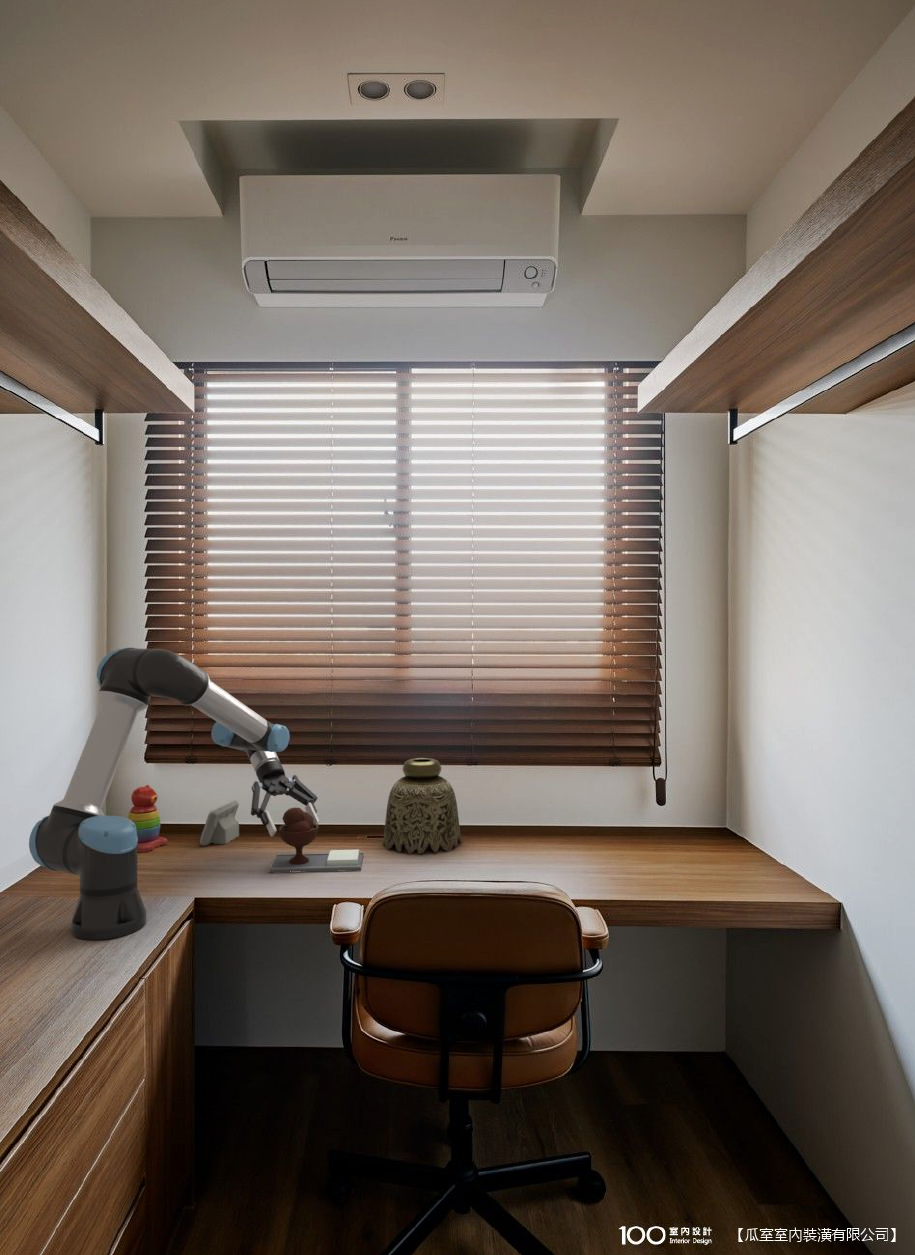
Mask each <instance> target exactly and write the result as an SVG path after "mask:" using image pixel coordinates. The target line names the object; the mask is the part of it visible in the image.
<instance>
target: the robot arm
mask: <svg viewBox="0 0 915 1255" xmlns="http://www.w3.org/2000/svg"><path fill="white" fill-rule="evenodd" d="M96 670H97V671H96V679H97V684H98V686H99V687H100V689H99V691H98V692H97V693H98V694H97V695H98V697H99V699H100V701H101V704H100V705H99V708H98V711H97V714H96V717H95V718H94V721H93V723H92V727H91V729H90V731H89V733H88V736H87V739H86V742H85V744H84V746H83V749H82V750H81V753H80V757H79V759H78V762H77V764H76V767H75V769H74V772H73V773H72V774H73V775H72V777H71V779H70V781H69V784H68V787H67V790H66V791H65V795H64V797H63V799H61V800H60V801H58V802H55V803H54V804H53V805H52V808H51V810H50V813H49V815H47V816H44V817H42V818H41V819H40V820H38V821H37V822H36V823H35V825H34V826H33V827H32V829H31V832H30V835H29V838H28V848H29V853H30V855H31V857H32V859H33V860H34V861H35V862H36V863H37V865H40V866H41V867H44V868H47V869H48V870H50V871H56V872H61V873H62V872H63V873H68V874H71V875H77V876H79V897H78V900H77V903H76V907H75V909H74V913H73V917H72V919H71V923H70V925H71V928H70V929H71V930H70V932H71V934H72V936H74V938H78V939H81V940H87V941H89V940H91V941H97V940H111V939H116V938H119V937H123V936H127V935H129V934H132V933H136V931H138V930H141V929H142V928H143V927H145V925H146V923H147V910H146V907H145V905H144V902H143V900H142V897H141V893H140V891H139V887H138V852H137V851H138V837H137V832H136V826H135V824H134V823H133V822H132V821H131V820H129V819H128V817H123V816H120V815H110V814H109V815H108V814H107V815H105V813H104V811H103V807H104V804H105V800H106V798H107V795H108V793H109V791H110V787H111V786H112V782H113V780H114V776H115V774H116V772H117V769H118V767H119V765H120V760H121V758H122V756H123V753H124V750H125V748H126V745H127V743H128V740H129V738H130V734H131V732H132V729H133V726H134V724H135V722H136V720H137V716H138V714H139V713H141V712H142V711H144V710H146V709H147V708H148V706H149V702H150V700H151V698H152V697H153V698H155V697H156V698H157V697H158V698H166V699H169V700H170V699H171V700H174V701H176V702H178V703H179V704H181V705H183V706H191V707H193V708H194V709H197V710H198V711H199V712H201V713H202V714H205V715H206V716H207V717H209V718H211V719H212V720H214V721H215V723H214V724H213V727H212V729H211V733H210V734H211V739H212V741H213V742H214V743H215V744H217V745H219V746H221V747H227V748H230V749H235V750H239V751H243V752H246V755H247V757H248V759H249V761H250V763H251V765H252V768H253V770H254V772H255V774H256V777H257V780H258V781H256V780H255V781H254V782H253V784H252V786H251V791H252V799H251V808H250V815H251V816H253V817H255V816H256V818H258V819H260V821H261V823H262V825H263V826H266V829H267V831H268V833H269V836H270V837H274V836H275V834H276V832H278V830H277V827H276V825H275V824H274V821H273V818H272V817H271V815H270V814H271V813H270V812H269V810H266V809H267V806H268V804H269V801H270V798H271V797H272V796H273V797H277V796H283V795H285V796H288V797H291V798H293V799H295V801H297V802H299V803H301V804H302V805H303V806H305V807H304V809H305V812H307V813H308V814H310V815H311V816H312V817H313V820H314V822H313V823H314V824H317V825H319V823H320V821H321V820H320V819H319V817H318V815H317V813H318V810H317V808H316V805H315V803H316V802H317V800H318V796H317V795H316V794H315V793H314V792H313V791H311V789H309V788H308V787H307V786H306V785H305V784H304V783H303V782H301V781H300V779H299V778H298V776H297V775H296V774H293V775H292V777H289V778H288V777H287V776H286V772H285V769H284V767H283V765H282V762H281V761H280V759H279V756H278V755H277V753H280V752H283V751H285V750H286V748H287V747H288V745H289V742H290V731H289V729H288V728H287V727H286V726H285V725H282V724H279V723H272V722H270V721H268V720H267V719H265V718H264V717H263V716H261V715H260V714H258V713H257V712H256V711H254V710H252V709H251V708H249V707H248V706H247V705H245V704H244V703H243V702H241V701H240V700H238V699H237V698H236V697H234V696H233V695H231V694H230V693H229V692H227V691H226V690H224V689H223V688H222V687H220V686H219V685H217V684H216V683H215V682H213V681H212V680H211V679H210V676H209V674H208V673H207V672H206V671H204V670H203V669H202V668H200V667H199V666H198V665H196V664H195V663H193V662H192V661H190V660H189V659H187V658H185V657H183V656H182V655H179V654H178V653H175V652H173V651H171V650H167V649H164V648H138V647H137V648H135V647H124V648H118V649H114V650H112V651H110V652H108V653H107V654H106V655H104V657H102V659H101V661H100V662H99V664H98V666H97V669H96ZM261 790H264V791H265V792H266V793H265V795H264V797H263V800H262V802H261V805H260V804H259V803H260V794H261ZM259 805H260V806H259Z"/></svg>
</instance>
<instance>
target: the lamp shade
mask: <svg viewBox="0 0 915 1255" xmlns="http://www.w3.org/2000/svg"><path fill="white" fill-rule="evenodd" d="M402 772H403V774H404V776H403V777H401V778H399V779H398V780H397V781H396V782H395V783H394V784H393V786H392V787H391V790H390V792H389V794H388V795H389V796H388V800H387V806H386V813H385V823H384V833H383V840H382V845H384V846H385V848H386V850H389V849H391V848H392V847H393V846H394V845H395V849H396V851H397V852H399V853H400V852H401V851H402V848H403V846H404V848H405V850H406V851H407V853H408V854H413V853H414V852H415V850H417V853H418V854H420V855H422V854H423V853H424V852H425V850H426V849H428V847H429V845H430V848H431V850H432V851H433V853H434V854H437V853H438V850H439V848H440V847H441V848H442V850H445V851H446V852H451V851H452V849H453V847H455V848H457V847H458V841H460V842H462V836H461V835H462V834H461V828H460V818H459V810H458V804H457V803H458V802H457V799H456V798H457V797H456V794H455V790H454V788H453V787H452V785H451V783H450V782H449V781H448V780H447V779H446V778H445V777H442V776H441V775H440V774H441V772H442V766H441V763H440V762H439V760H437V759H435V758H432V757H431V758H430V757H415V758H410V759H407V760H405V762H404V764H403V766H402ZM458 839H459V840H458Z"/></svg>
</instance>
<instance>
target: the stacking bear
mask: <svg viewBox="0 0 915 1255" xmlns="http://www.w3.org/2000/svg"><path fill="white" fill-rule="evenodd" d="M130 798H131V803H132V805H133V806H132V807H131V808H130V810H129V811H128V816H127V819H129V820H131V821H132V822H133V823H134V824H135V826H136V832H137V837H138V852H137V853H148V852H147V851H149V852H151V851H150V850H152V851H153V850H154V849H156V848H158V847H157V846H159V847H161V846H160V845H164V846H166V845H165V844H166V843H168V844H169V841H168V839H167V838H165V837H163V836H159V835H160V830H161V822H162V821H161V817H160V814H159V810H158V807H157V806H156V802H157V801H158V794H157V793H156V791H155V790H154V789H153V787H151V786H150V785H149V784H146V785H145V786H140V787H137V788H135V789H134V790H133V791H132V793H131V797H130ZM155 847H156V848H155Z"/></svg>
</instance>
